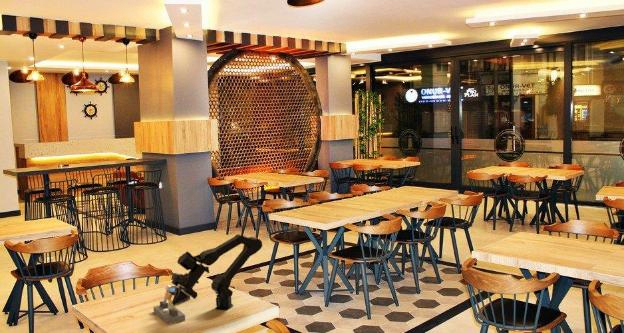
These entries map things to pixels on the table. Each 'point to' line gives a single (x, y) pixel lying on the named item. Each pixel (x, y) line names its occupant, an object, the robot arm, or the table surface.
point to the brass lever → (170, 301)
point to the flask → (184, 299)
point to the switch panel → (168, 313)
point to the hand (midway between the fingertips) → (172, 304)
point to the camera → (172, 290)
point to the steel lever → (166, 293)
